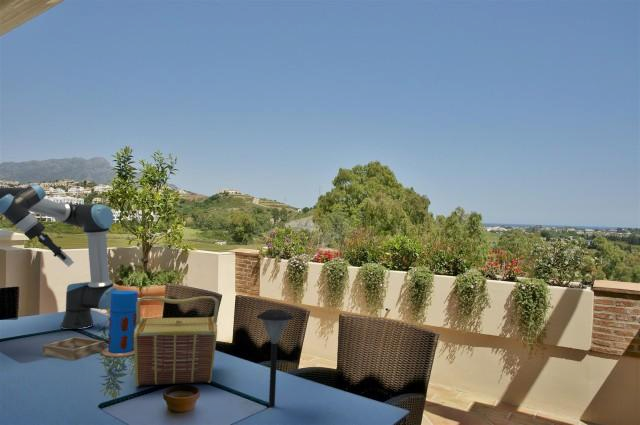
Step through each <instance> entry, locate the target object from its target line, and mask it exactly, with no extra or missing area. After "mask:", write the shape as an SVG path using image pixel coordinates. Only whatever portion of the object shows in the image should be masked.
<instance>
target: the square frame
mask: <svg viewBox="0 0 640 425" xmlns="http://www.w3.org/2000/svg"><path fill="white" fill-rule="evenodd" d="M105 342H106V341H105V340H99V339H92V338H86V337H78V336H74V337H70V338H67V339H62V340H58V341H55V342H51V343H47V344H43V345H42V356H44V357H50V358H58V359H63V360H67V361H68V360H69V361H76V360H79V359H83V358H85V356H86V357H89V356H92V355H95V354H98V353H102V350H104V349H106V348H105V347H106V346H105V345H106V343H105ZM97 352H98V353H97ZM91 354H92V355H91ZM88 355H89V356H88Z"/></svg>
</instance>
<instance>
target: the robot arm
mask: <svg viewBox="0 0 640 425" xmlns="http://www.w3.org/2000/svg"><path fill="white" fill-rule="evenodd" d="M46 195H47V194H46V190H45V188H44V187H43V186H42V185H41V184H38V183H31V184H30V185H27V186H26V187H9V186H8V187H5V186H1V187H0V214H1V215H3V217H4V218H6V220H8V221H10V223H11V224H12V225H13V226H15V230H19V231H20V232H21V233H24V236H25V237H26V238H28V239H29V240H33V239H35V238H36V237H37V241H38V242H39V243H40V244H42V245H43V246H44V247H47V248H48V249H49V250H50V251H51V252H52V253H53V257H57V258H58V259H59V260H60V261H62V262H63V263H64V264H65V265H66V266H67V267H68V268H69V267H70V266H72V265H73V264H74V263H75V261H74V260H73V259H72V258H71V257H70V256H69V255H68V254H67V253H66V252H65V251H63V249H62V247H61V246H58V245H57V244H55V243H54V242H53V239H52V238H50V236H49V235H48V234H47V233H46V234H45V233H43V231H44V230H46V228H47V227H46V226H45V225H44V224H43V223H42V222H41V221H39V219H38V218H37V217H36V216H35V215H34V214H39V215H42V216H46V217H50V218H53V219H55V221H57V222H60V223H64V224H66V225H69V226H74V227H76V228H83V233H84V234H86V236H87V247H88V249H87V250H88V261H89V262H88V263H89V273H90V281H84V282H76V283H70V284H68V285H67V287H66V292H65V295H66V296H65V313H64V316H63V318H62V319H63V320H62V321H61V323H60V328H61V327H63V328H69V329H70V328H83V327H88V326H91V325H93V324H94V319H93V315H92V312H91V311H92V309H95V310H102V311H104V310H105V311H106V310H110V304H111V293H112V292H114V291H119V289H118V288H117V287H115V286H114V283H113V280H111V279H110V271H109V259H108V258H109V257H108V243H107V242H108V241H107V233H108V232H109V231H110V228H111V227H112V225H113V222H114V220H115V219H114V218H115V217H114V214H113V211H112V210H111V209H110V208H109V207H108V206H107V205H105V204H103V205H102V204H94V203H93V204H87V203H86V204H85V203H79V204H78V203H75V204H74V203H67V202H58V201H53V200H50V199H48V198H45V197H46ZM33 213H34V214H33ZM93 326H94V325H93Z"/></svg>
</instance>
